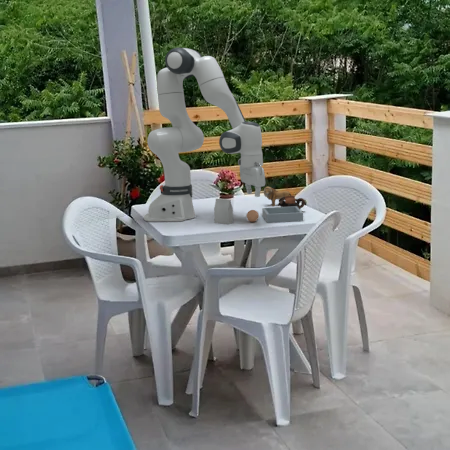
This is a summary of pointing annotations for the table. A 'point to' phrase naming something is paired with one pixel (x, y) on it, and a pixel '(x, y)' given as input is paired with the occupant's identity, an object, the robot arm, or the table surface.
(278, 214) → the gray square tray
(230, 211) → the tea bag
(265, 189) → the lion figurine
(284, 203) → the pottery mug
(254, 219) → the rubber ball
